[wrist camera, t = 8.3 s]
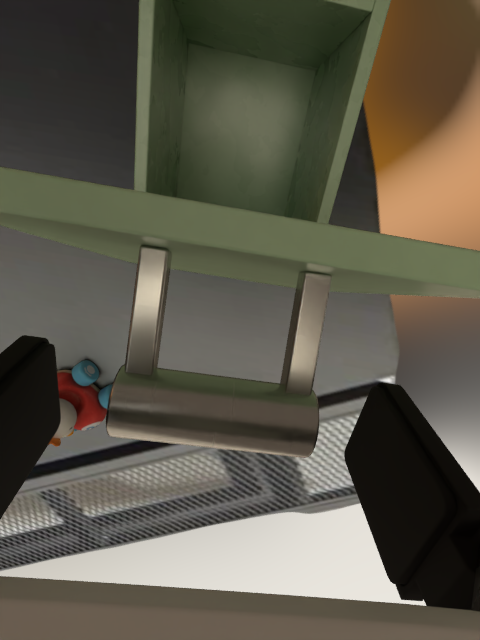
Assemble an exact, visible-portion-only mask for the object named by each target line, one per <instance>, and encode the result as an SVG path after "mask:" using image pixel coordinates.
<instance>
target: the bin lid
mask: <svg viewBox="0 0 480 640" xmlns="http://www.w3.org/2000/svg"><path fill="white" fill-rule="evenodd" d="M0 226H4V227H7V228H11V229H14V230H18V231H21V232H25V233H28V234H32V235H35V236H39V237H42V238H46V239H49V240H53V241H57V242H60V243H64V244H67V245H71V246H74V247H78V248H81V249H85V250H88V251H92V252H95V253H99V254H102V255H106V256H109V257H113V258H116V259H120V260H123V261H127V262H130V263H137V272H136V280H135V288H134V296H133V305H132V313H131V321H130V329H129V337H128V345H127V353H126V361H125V364H124V365H122V366H121V368H120V369H119V371H118V373H117V375H116V377H115V379H114V382H113V385H112V388H111V392H110V396H109V400H108V406H107V413H106V429H107V433H108V435H109V436H111V437H118V438H127V439H136V440H145V441H154V442H164V443H173V444H182V445H191V446H201V447H210V448H219V449H228V450H237V451H247V452H256V453H265V454H274V455H284V456H293V457H302V458H306V457H309V456H310V455H311V454H312V452H313V450H314V448H315V445H316V441H317V437H318V430H319V407H318V401H317V397H316V394H315V392H314V391H313V390H312V387H313V382H314V376H315V370H316V365H317V359H318V353H319V348H320V342H321V336H322V331H323V325H324V319H325V313H326V308H327V302H328V296H329V292H350V293H373V294H395V295H418V296H441V297H462V298H463V297H464V298H480V251H477V250H472V249H466V248H460V247H454V246H449V245H443V244H437V243H432V242H426V241H420V240H415V239H408V238H403V237H397V236H392V235H386V234H381V233H375V232H369V231H364V230H358V229H352V228H347V227H341V226H335V225H329V224H324V223H318V222H312V221H307V220H301V219H295V218H290V217H284V216H278V215H273V214H267V213H261V212H256V211H250V210H244V209H239V208H233V207H227V206H221V205H216V204H210V203H204V202H199V201H193V200H187V199H182V198H176V197H170V196H165V195H159V194H153V193H148V192H142V191H136V190H131V189H125V188H119V187H114V186H108V185H102V184H96V183H91V182H85V181H79V180H74V179H68V178H62V177H57V176H51V175H45V174H40V173H34V172H28V171H23V170H17V169H11V168H6V167H0ZM170 269H175V270H182V271H188V272H194V273H201V274H207V275H214V276H220V277H226V278H233V279H239V280H246V281H252V282H258V283H265V284H271V285H278V286H284V287H290V288H296V292H295V298H294V304H293V310H292V316H291V322H290V328H289V334H288V340H287V346H286V352H285V358H284V364H283V370H282V376H281V382H280V384H279V383H271V382H263V381H256V380H248V379H240V378H232V377H225V376H217V375H209V374H201V373H194V372H186V371H178V370H170V369H162V368H157V366H158V358H159V351H160V343H161V336H162V328H163V320H164V313H165V305H166V298H167V290H168V283H169V275H170Z"/></svg>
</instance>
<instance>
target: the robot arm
mask: <svg viewBox="0 0 480 640" xmlns="http://www.w3.org/2000/svg"><path fill="white" fill-rule="evenodd" d="M60 422H61V411H60V400H59V389H58V377H57V366H56V355H55V347H54V345H53V344H49V341H48V340H47V339H46V338H41V337H34V336H26V335H24V336H21V337H20V338H18V339H17V340H16V341H15V342H14V343H13V344H11V345H10V346H9V347H8V348H7V349H5V350H4V351H3V352H2V353H1V354H0V519H1V517H2V516H3V514H4V512H5V511H6V509H7V508H8V506H9V505H10V503H11V502H12V500H13V498H14V497H15V495H16V494H17V492H18V491H19V489H20V488H21V486H22V484H23V483H24V481H25V480H26V478H27V477H28V475H29V474H30V472H31V470H32V469H33V467H34V466H35V464H36V463H37V461H38V460H39V458H40V456H41V455H42V453H43V452H44V450H45V449H46V447H47V446H48V444H49V443H50V441H51V439H52V438H53V436H54V435H55V433H56V432H57V430H58V428H59V425H60ZM345 462H346V465H347V467H348V470H349V473H350V475H351V478H352V481H353V484H354V486H355V489H356V492H357V494H358V497H359V500H360V503H361V505H362V508H363V511H364V513H365V516H366V519H367V521H368V524H369V527H370V530H371V532H372V535H373V538H374V541H375V543H376V546H377V549H378V551H379V554H380V557H381V559H382V562H383V565H384V568H385V570H386V573H387V576H388V578H389V579H390V581H391V582H392V583H393V584H396V587H397V590H398V592H399V595H400V598H401V599H402V600H415V601H423V599H424V601H425V603H426V606H420V605H410V604H398V603H385V602H371V601H357V600H345V599H331V598H318V597H305V596H291V595H277V594H262V593H248V592H234V591H220V590H205V589H191V588H190V589H189V588H175V587H161V586H146V585H131V584H116V583H99V582H84V581H67V580H52V579H36V578H20V577H1V576H0V640H480V493H479V491H478V490H477V488H476V487H475V486H474V484H473V483H472V481H471V480H470V479H469V477H468V476H467V475H466V473H465V472H464V471H463V469H462V468H461V466H460V465H459V464H458V462H457V461H456V460H455V458H454V457H453V455H452V454H451V453H450V451H449V450H448V449H447V447H446V446H445V445H444V443H443V442H442V441H441V439H440V438H439V437H438V435H437V434H436V432H435V431H434V430H433V428H432V427H431V426H430V424H429V423H428V422H427V420H426V419H425V417H424V416H423V415H422V413H421V412H420V411H419V409H418V408H417V407H416V405H415V404H414V402H413V401H412V400H411V398H410V397H409V396H408V394H407V393H406V392H405V390H404V389H403V388H402V387H401V386H400V385H395V384H388V383H379V384H378V385H377V386H376V387H373V388H372V389H371V390H370V393H369V395H368V397H367V400H366V402H365V404H364V407H363V409H362V411H361V414H360V416H359V418H358V421H357V423H356V425H355V428H354V430H353V432H352V435H351V437H350V439H349V442H348V444H347V446H346V449H345Z"/></svg>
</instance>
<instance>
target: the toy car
mask: <svg viewBox="0 0 480 640" xmlns="http://www.w3.org/2000/svg"><path fill="white" fill-rule="evenodd" d="M57 377H58V389H59V400H60V411H61V422H60V425H59V428H58V430H57V432H56V433H55V435H54V436H53V438H52V439H51V441H50V443H49V444H53V445H54V446H59V445H60V444H61V441H60V439H61V438H63V437H65V436H70V435H72V434H73V432H74V431H76V430H89V429H92V428H94V427H96V426H97V425H99V424H100V423H101V422H102V421H103V419H104V418H105V416H106V413H107V406H108V400H109V396H110V392H111V388H112V385H108V386H106V387H105V388H103V389H101V390H100V389H99V388H97V387H96V386H95V385H94V384H93V382H95V381H96V380H97V379H98V377H99V371H98V368H97V367H96V365H95V364H94V363H92V362H91V361H88V360H84V361H81V362H80V363H78V364H77V365H75V366H74V367H73V369H72V371H71V370H59V371H57ZM49 444H48V445H49Z"/></svg>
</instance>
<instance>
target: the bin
mask: <svg viewBox="0 0 480 640" xmlns="http://www.w3.org/2000/svg"><path fill="white" fill-rule="evenodd" d="M390 1H391V0H139V25H138V61H137V98H136V134H135V171H134V190H136V191H142V192H148V193H153V194H159V195H165V196H170V197H176V198H182V199H187V200H193V201H199V202H204V203H210V204H216V205H221V206H227V207H233V208H239V209H244V210H250V211H256V212H261V213H267V214H273V215H278V216H284V217H290V218H295V219H301V220H307V221H312V222H318V223H324V224H328V222H329V219H330V215H331V212H332V208H333V205H334V201H335V197H336V194H337V190H338V187H339V183H340V180H341V176H342V173H343V169H344V165H345V162H346V158H347V155H348V151H349V148H350V144H351V140H352V137H353V133H354V130H355V126H356V123H357V119H358V116H359V112H360V108H361V105H362V101H363V98H364V94H365V91H366V87H367V83H368V80H369V76H370V73H371V69H372V65H373V62H374V58H375V55H376V51H377V48H378V44H379V41H380V37H381V34H382V30H383V26H384V23H385V19H386V16H387V12H388V8H389V5H390Z"/></svg>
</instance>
